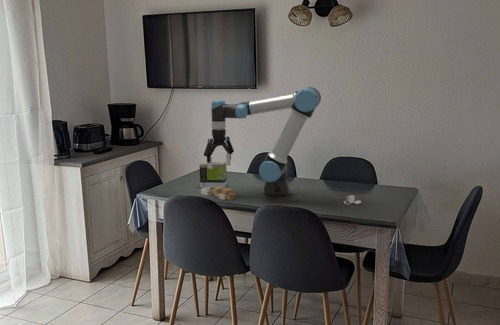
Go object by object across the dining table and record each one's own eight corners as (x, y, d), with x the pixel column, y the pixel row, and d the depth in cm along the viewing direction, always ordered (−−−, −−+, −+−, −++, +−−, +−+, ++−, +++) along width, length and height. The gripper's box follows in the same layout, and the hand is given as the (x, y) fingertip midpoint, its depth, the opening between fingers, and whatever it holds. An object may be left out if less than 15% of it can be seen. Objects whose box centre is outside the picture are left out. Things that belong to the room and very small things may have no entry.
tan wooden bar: (235, 198, 272) (235, 190, 271) (230, 200, 269) (230, 191, 268) (215, 194, 282) (215, 185, 281) (210, 195, 280) (210, 186, 279)
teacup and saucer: (363, 204, 261) (363, 197, 260) (352, 206, 256) (352, 199, 256) (351, 200, 268) (351, 193, 267) (340, 203, 264) (340, 195, 263)
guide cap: (234, 196, 275) (234, 192, 274) (223, 199, 269) (223, 195, 268) (229, 195, 278) (229, 191, 277) (218, 198, 272) (218, 194, 271)
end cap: (217, 192, 284) (217, 188, 284) (206, 195, 278) (206, 191, 278) (210, 190, 288) (210, 186, 288) (199, 193, 282) (199, 189, 282)
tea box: (227, 184, 304) (226, 161, 301) (224, 188, 294) (224, 164, 291) (202, 184, 305) (202, 160, 302) (199, 188, 295) (199, 164, 293)
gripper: (230, 126, 281) (231, 162, 285) (196, 130, 264) (197, 169, 268) (239, 127, 276) (240, 164, 280) (205, 131, 259) (206, 171, 263)
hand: (219, 166), depth 274 cm, fingers open, 13 cm apart
